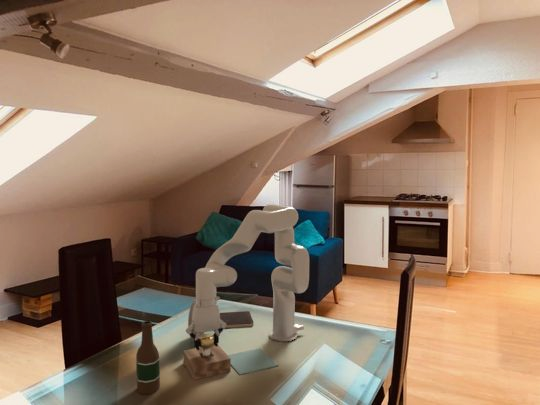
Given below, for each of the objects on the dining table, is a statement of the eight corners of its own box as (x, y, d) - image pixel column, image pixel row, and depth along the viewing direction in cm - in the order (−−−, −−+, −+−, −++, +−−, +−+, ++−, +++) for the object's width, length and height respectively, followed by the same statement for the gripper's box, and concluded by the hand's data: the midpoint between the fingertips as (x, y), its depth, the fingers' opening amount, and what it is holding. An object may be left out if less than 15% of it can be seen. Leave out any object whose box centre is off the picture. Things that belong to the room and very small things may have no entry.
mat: (260, 349, 182) (260, 348, 182) (278, 365, 168) (278, 364, 168) (224, 356, 175) (224, 355, 175) (239, 375, 160) (239, 374, 160)
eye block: (217, 355, 175) (217, 343, 175) (230, 371, 163) (230, 358, 162) (183, 363, 169) (183, 350, 169) (194, 379, 157) (194, 366, 156)
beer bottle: (139, 383, 154) (137, 318, 151) (161, 382, 155) (160, 317, 152) (134, 395, 146) (132, 327, 143) (158, 394, 147) (156, 326, 144)
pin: (211, 362, 170) (211, 332, 169) (216, 368, 165) (216, 338, 163) (196, 365, 167) (196, 335, 166) (201, 372, 162) (201, 341, 161)
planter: (202, 350, 180) (202, 306, 178) (185, 350, 180) (184, 306, 178) (208, 332, 198) (208, 292, 196) (192, 332, 198) (192, 292, 196)
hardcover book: (253, 327, 206) (253, 322, 205) (204, 330, 202) (204, 325, 201) (249, 314, 221) (249, 310, 221) (203, 317, 217) (203, 313, 217)
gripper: (224, 295, 170) (224, 339, 172) (180, 301, 163) (181, 347, 165) (231, 301, 164) (231, 346, 166) (186, 308, 156) (186, 355, 158)
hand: (206, 346), depth 165 cm, fingers open, 6 cm apart
